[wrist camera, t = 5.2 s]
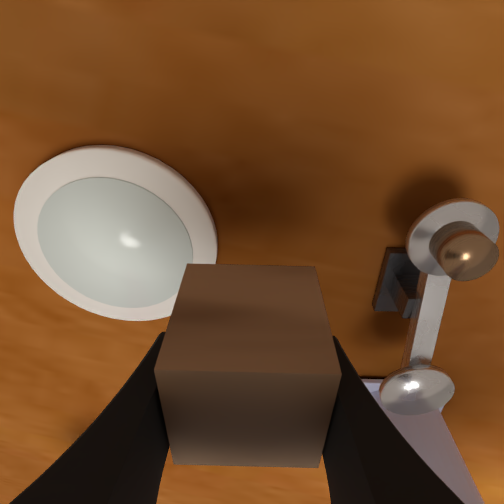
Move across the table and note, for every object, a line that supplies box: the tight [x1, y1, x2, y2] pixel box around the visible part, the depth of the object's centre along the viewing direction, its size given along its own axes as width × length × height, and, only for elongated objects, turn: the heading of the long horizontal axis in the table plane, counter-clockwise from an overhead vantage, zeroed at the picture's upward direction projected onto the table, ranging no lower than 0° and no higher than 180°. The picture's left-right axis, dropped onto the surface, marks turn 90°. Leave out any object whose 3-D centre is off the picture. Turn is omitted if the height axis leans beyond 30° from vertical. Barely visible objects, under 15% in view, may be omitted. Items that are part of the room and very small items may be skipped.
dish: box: [14, 145, 218, 321], centre depth 19 cm, size 11×11×1 cm
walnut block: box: [154, 263, 342, 468], centre depth 11 cm, size 4×4×4 cm
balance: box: [372, 198, 499, 415], centre depth 19 cm, size 13×4×5 cm, turn 179°
